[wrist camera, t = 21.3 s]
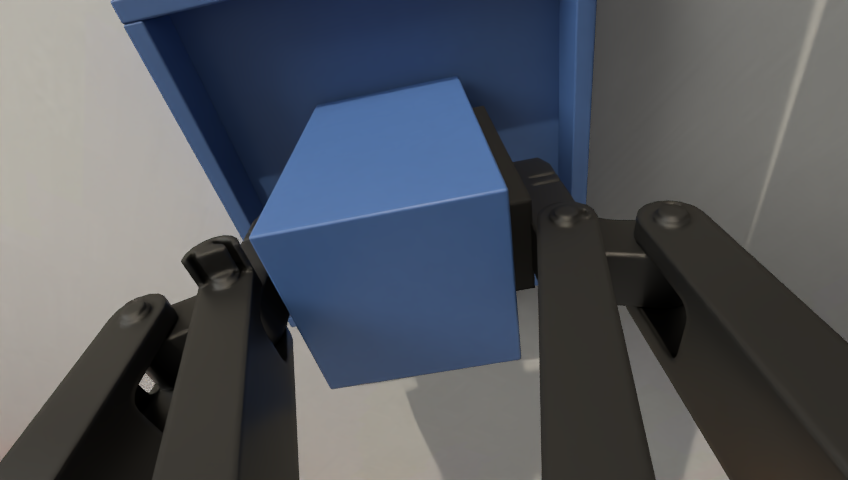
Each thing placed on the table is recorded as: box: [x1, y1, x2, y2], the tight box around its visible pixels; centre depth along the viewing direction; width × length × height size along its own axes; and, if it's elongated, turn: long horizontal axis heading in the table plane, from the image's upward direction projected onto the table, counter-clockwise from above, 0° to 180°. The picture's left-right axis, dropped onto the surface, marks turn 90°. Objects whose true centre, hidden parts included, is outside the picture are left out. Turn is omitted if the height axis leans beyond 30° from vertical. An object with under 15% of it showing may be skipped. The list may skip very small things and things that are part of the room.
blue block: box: [249, 76, 521, 389], centre depth 12 cm, size 5×5×8 cm
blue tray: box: [111, 0, 597, 327], centre depth 15 cm, size 13×13×2 cm
